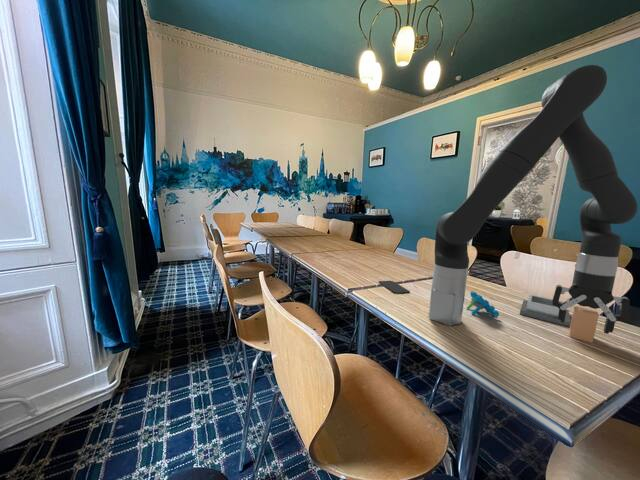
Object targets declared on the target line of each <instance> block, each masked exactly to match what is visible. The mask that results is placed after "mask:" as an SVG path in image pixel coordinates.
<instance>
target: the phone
mask: <svg viewBox="0 0 640 480" xmlns="http://www.w3.org/2000/svg"><path fill="white" fill-rule="evenodd" d="M378 282H379V283H378ZM378 282H377V283H378V284H380V285H381V284H382V285H383V286H382V285H381V286H382V287H384V288H385V289H387V290H388V291H390V292H391V293H393V294H396V295H402V294H403V295H404V294H410V293H411V291H410V290H409V289H407V288H405V287H404V286H402V285H401V284H399V283H397V282H395V281H393V280H379V281H378Z"/></svg>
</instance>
